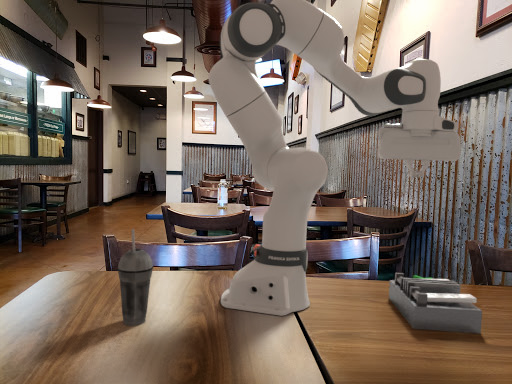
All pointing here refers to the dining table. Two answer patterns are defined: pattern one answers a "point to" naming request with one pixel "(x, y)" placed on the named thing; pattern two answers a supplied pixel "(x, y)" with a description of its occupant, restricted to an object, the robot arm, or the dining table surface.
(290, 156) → the robot arm
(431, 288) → the heatsink block
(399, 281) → the strap far
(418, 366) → the dining table surface
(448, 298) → the strap near
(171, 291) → the dining table surface
